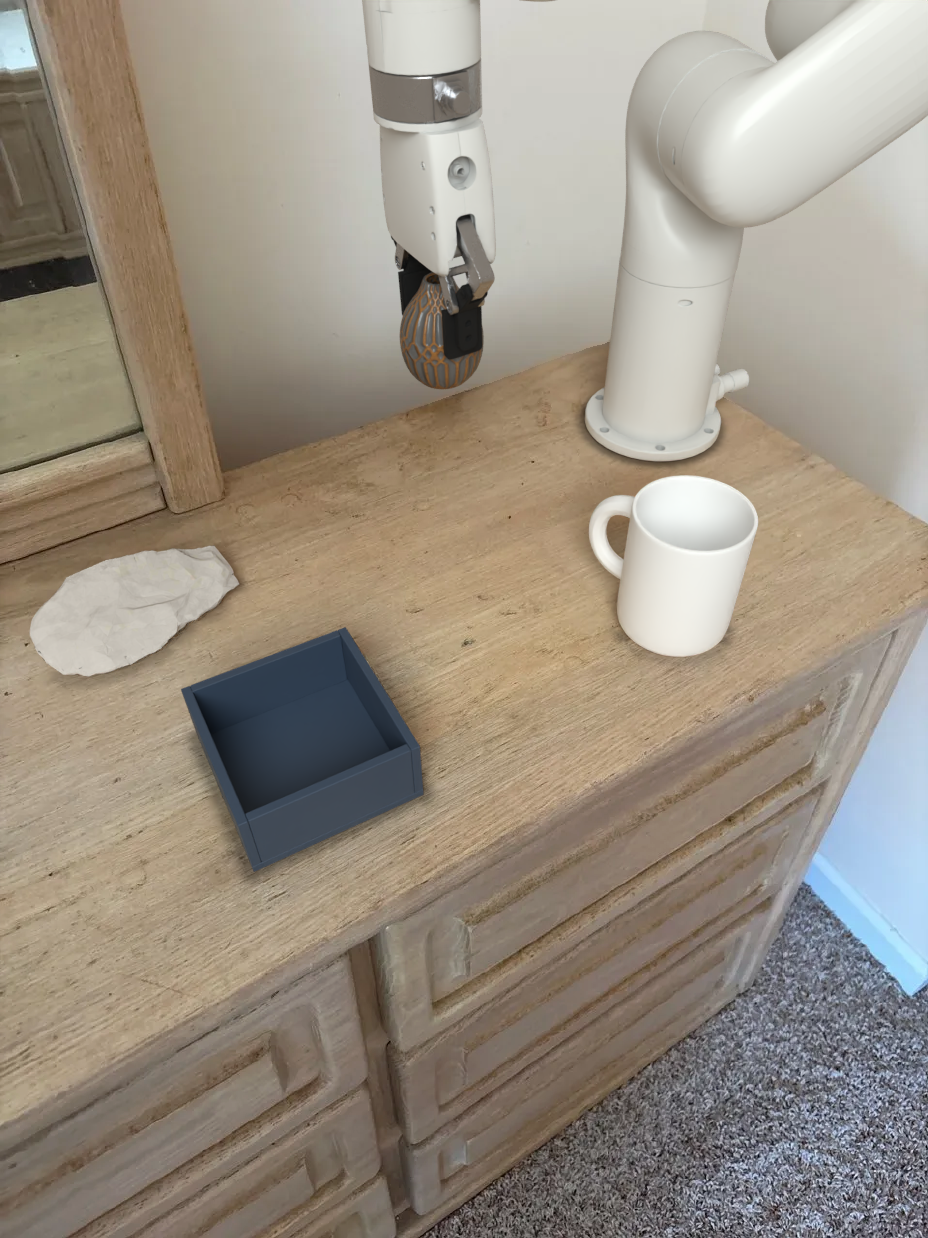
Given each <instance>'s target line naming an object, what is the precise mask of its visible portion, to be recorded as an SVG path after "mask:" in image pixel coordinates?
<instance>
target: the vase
mask: <svg viewBox="0 0 928 1238" xmlns="http://www.w3.org/2000/svg"><path fill="white" fill-rule="evenodd" d="M452 280H453V284H454V288H455V293H457V291H458V290H459V289H460V286H458V284H457V282H456V280H455V278H454V276H452ZM444 309H447V308H446V305H445V301H444V296H443V292H442V288H441V284H440V280H439V276H438V275H437V274H435V273H434V272H432V273H429V274H427V275H425V276H424V278H423V280H422V283H421V285H420V288H419V290H418V291H417V293H416V294H415V295H414V297H413V298H412V299H411V301H410V302H409V304H408V305H407V307H406V309H405V311H404V314H403V316H402V317H401V322H400V326H399V345H400V351H401V355H402V360H403V361H404V364H405V366H406V368H407V370H408V371H409V373H410V374H411V375H412V376H413V378H415V379H416V380H417V381H418V382H420V383H421V384H422V385H424V386H426V387H428V388H431V389H434V390H449V389H454V388H457V387H460V386H463V384H464V383H466V382H467V381H468V380H469V379H470V378H472V376H473V375H474V374H475V372H476V371H477V369H478V367H479V365H480V363H481V360H482V357H483V351H484V344H485V341H484V339H485V338H484V337H485V336H484V327H483V326H482V348H481V350H479V351H477V352H474V353H470V354H467V355H464V356H461V357H458V358H454V359H451V360H450V359H448V358H447V357H446V356H445V355H444V347H443V330H442V314H441V310H444Z"/></svg>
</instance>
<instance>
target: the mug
mask: <svg viewBox="0 0 928 1238" xmlns="http://www.w3.org/2000/svg"><path fill="white" fill-rule="evenodd" d="M614 516H622V517H626V518H628V519H629V523H628V529H627V535H626V536H627V537H626V541H625V547H624V555H623V558H622V557H621V556H619V555H618V554H617V553H616V552H615V551H614V549H613V548H612V546H611V545H610V543H609V540H608V535H607V527H608V523H609V521H610V519H611V518H612V517H614ZM758 527H759V517H758V513H757V510H756V508H755V506H754V504H753V503H752V501H751V499H749V498H748V497H747V496H746V495H745V494H744V493H742V492H741V491H740V490H738V489H737V488H735V487H733V486H731V485H729V484H727V483H725V482H722V481H720V480H717V479H713V478H710V477H706V476H700V475H690V474H685V475H684V474H683V475H670V476H666V477H665V476H664V477H662V478H657V479H656V480H653V481H651V482H648V483H647V484H646V485H645V486H643V487H642V488H641V489H640V490H638V492H637V493H636V495H635V496H634V495H628V494H616V495H611V496H608V497H606V498H605V499H603V500H601V501H600V502H599V503H598V504H597V505H596V506H595V508H594V510H593V511H592V512H591V515H590V518H589V522H588V538H589V544H590V547H591V549H592V552H593V554H594V556H595V558H596V559H597V561H598V562H599V563H600V565H601V566H602V567H603V568H604V569H605V570H606V571H607V572H609V573H610V574H611V575H612V576H613V577H615V578H617V579H618V580H619V586H618V592H617V599H616V613H617V614H616V615H617V620H618V622H619V625H620V627H621V628H622V630H623V632H624V633H625V635H626V636H627V637H628V638H629V639H630V640H631V641H633V642H634V643H635V644H636V645H638V646H640V647H641V648H643V649H645V650H647V651H649V652H652V653H654V654H657V655H660V656H666V657H671V658H672V657H673V658H685V657H686V658H687V657H693V656H698V655H700V654H704V653H706V652H708V651H710V650H711V649H713V648H715V647H716V646H717V645H718V644H719V643H720V642H721V641H722V640H723V638H724V637H725V635H726V633H727V632H728V630H729V627H730V624H731V621H732V617H733V615H734V610H735V607H736V604H737V601H738V597H739V593H740V590H741V586H742V582H743V579H744V576H745V572H746V570H747V569H746V568H747V565H748V562H749V558H750V554H751V551H752V549H753V545H754V541H755V537H756V534H757V531H758Z"/></svg>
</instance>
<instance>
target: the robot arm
mask: <svg viewBox="0 0 928 1238" xmlns="http://www.w3.org/2000/svg"><path fill="white" fill-rule="evenodd" d="M521 1H523V2H532V3H533V2H534V3H549V2H555V1H557V0H520V2H521ZM361 3H362V5H361V6H362V12H363V23H364V24H363V25H364V33H365V43H366V55H367V63H368V72H369V82H370V83H369V84H370V91H371V92H370V94H371V102H372V103H371V104H372V113H373V114H372V115H373V120H374V122H375V123H376V124H378V125H379V155H380V156H379V157H380V175H381V189H382V201H383V208H384V209H383V210H384V216H385V222H386V226H387V231H388V233H389V235H390V238H391V240H392V241H393V245H394V247H395V252H394V263H395V266H396V268H397V269H398V270H399V271H398V272H397V278H398V286H399V297H400V308H401V309H400V311H401V316H402V317H403V314H404V311H405V309H406V307H407V305H408V304H409V302H410V301H411V299H412V298H413V297H414V295H415V294H416V293H417V291H418V290H419V288H420V285H421V283H422V280H423V278H424V276H425V275H427V274H429V273H432V272H434V273H435V274H437V275H438V276H439V280H440V284H441V288H442V292H443V296H444V301H445V305H446V308H447V309H444V310H441V314H442V330H443V347H444V355H445V356H446V357H447V358H448V359H450V360H451V359H454V358H458V357H461V356H464V355H467V354H470V353H474V352H477V351H479V350H481V348H482V327H483V315H482V313H483V311H482V310H483V309H482V308H483V306H485V303H486V301H485V300H486V298H487V296H488V295H489V294H488V293H489V290H490V289H491V287H492V285H493V284H494V283H495V278H496V277H495V273H494V270H493V268H492V266H491V265H493V263H494V262H495V260H496V255H497V243H496V241H497V239H496V220H495V219H496V218H495V204H494V191H493V189H494V188H493V179H492V170H491V162H490V154H489V147H488V141H487V140H488V139H487V136H486V130H485V126H484V121H483V120H482V119H480V118H481V117H482V115H483V80H482V79H483V77H482V76H483V75H482V31H481V30H482V29H481V28H482V27H481V0H361ZM764 33H765V34H764V35H765V38H766V42H767V45H768V48H769V50H770V52H771V54H772V55H773V57H774V59H775V60H776V62H774V61H772V60H770V58H768V57H766V55H764V54H762V53H760V52H759V51H758V50H756V49H753V48H752V47H750V46H749V45H746V44H745V43H743V42H741V41H740V40H738V39H736V38H735V37H732V36H730V35H727V34H724V33H722V32H718V31H713V30H693V31H687V32H685V33H682V34H678V35H677V36H674V37H673V38H671V39H669V40H667V41H666V42H665V43H663V44H661V45H660V46H659V47H658V48H657V49H656V50H655V51H654V52H653V53H652V54H651V55H650V57H648V59H647V60H646V62H645V63H644V64H643V66H642V67H641V69H640V70H639V73H638V74H637V77H636V79H635V81H634V84H633V86H632V89H631V92H630V96H629V100H628V105H627V109H626V119H625V130H624V131H625V132H624V133H625V135H624V136H625V143H624V145H625V146H624V147H625V148H624V149H625V206H624V219H623V228H622V238H621V247H620V257H619V260H618V270H617V278H616V286H615V295H614V296H615V297H614V305H613V312H612V321H611V329H610V338H609V345H608V353H607V355H608V356H607V365H606V372H605V382H604V387H602V388H601V389H599V390H597V391H596V392H595V393H594V394H592V396H591V397H590V398H589V399H588V401H587V403H586V406H585V410H584V411H585V412H584V423H585V427H586V429H587V431H588V433H589V435H590V436H591V437H592V438H593V439H594V440H595V441H596V442H597V443H598V444H600V445H602V446H603V447H604V448H606V449H607V450H610V451H612V452H614V453H615V454H619V455H621V456H625V457H627V458H630V459H631V458H632V459H635V460H640V461H647V462H648V461H649V462H674V461H681V460H685V459H688V458H692V457H695V456H697V455H699V454H702V453H703V452H705V451H707V450H709V448H711V447H712V446H713V445H714V443H715V442H716V441H717V439H718V437H719V435H720V430H721V426H722V418H721V413H720V411H719V409H718V407H717V406H716V403H717V402H718V401H720V400H722V399H723V398H724V396H725V394H731V393H735V392H737V391H740V390H743V389H746V388H747V387H748V386H749V384H750V375H749V373H748V371H747V370H746V369H744V368H736V369H733V370H730V371H727V372H725V373H723V374H721V368H720V365H719V364H718V357H719V352H720V347H721V343H722V338H723V333H724V329H725V324H726V320H727V315H728V309H729V304H730V300H731V295H732V292H733V287H734V281H735V276H736V273H737V271H738V266H739V261H740V256H741V251H742V246H743V240H744V238H743V237H744V232H745V229H746V228H754V227H758V226H763V225H766V224H768V223H771V222H774V221H775V220H777V219H780V218H782V217H784V216H786V215H788V214H789V213H791V212H793V211H794V210H796V209H798V208H799V207H801V206H803V205H804V204H805V203H808V201H810V200H811V199H813V198H814V197H816V196H817V195H819V194H820V193H821V192H823V191H824V190H826V189H827V188H829V187H830V186H832V185H833V184H834V183H836V182H838V181H839V180H840V179H842V178H843V177H844V176H846V175H847V174H849V173H850V172H851V171H853V170H855V169H856V168H857V167H859V166H860V165H862V164H863V163H864V162H867V160H869V159H870V158H872V157H873V156H875V155H876V154H878V152H880V151H881V150H883V149H884V148H886V147H887V146H889V145H890V144H891V143H893V142H894V141H896V140H897V139H899V138H901V136H903V135H904V134H906V133H907V132H908V131H910V130H911V129H913V128H914V127H915V126H916V125H918V124H919V123H921V122H922V121H923V120H924V119H926V118H927V117H928V0H768V2H767V5H766V10H765V16H764ZM460 257H462V260H463V264H459V265H455V266H453V267H450V262H452V261H453V260H454V259H457V258H460ZM463 274H465V277H466V283H465V284H462V285H460V286H459V288H460V289H459V290H458V291H457V293H455V288H454V284H453V280H452V276H453V277H456V276H459V275H463ZM720 374H721V375H720Z"/></svg>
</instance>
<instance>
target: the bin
mask: <svg viewBox="0 0 928 1238" xmlns="http://www.w3.org/2000/svg"><path fill="white" fill-rule="evenodd" d="M180 692H181V695H182V697H183V700H184V702H185V706H186V708H187V711H188V714H189V716H190V719H191V722H192V725H193V728H194V729H195V733H196V736H197V738H198V741H199V743H200V746H201V748H202V751H203V753H204V755H205V758H206V761H207V763H208V765H209V768H210V770H211V772H212V775H213V777H214V779H215V782H216V785H217V788H218V789H219V792H220V794H221V798H223V801H224V804H225V807H226V809H227V811H228V813H229V816H230V818H231V821H232V823H233V825H234V828H235V830H236V833H237V835H238V837H239V840H240V843H241V845H242V848H243V849H244V852H245V854H246V857H247V859H248V862H249V865H250V866H251V869H252V871H253V873H254V872H257V871H260V870H261V869H264V868H266V867H269V866H271V865H273V864H275V863H277V862H279V861H281V860H283V859H286V858H288V857H291V856H293V855H295V854H296V853H299V852H301V851H303V850H306V849H309V848H310V847H312V846H314V845H316V844H319V843H321V842H323V841H325V840H328V839H330V838H332V837H333V836H334V837H335V836H336V835H338V834H340V833H343V832H346V831H347V830H349V829H351V828H354V827H357V826H359V825H360V824H362V823H364V822H367V821H370V820H371V819H373V818H376V817H378V816H381V815H383V814H384V813H387V812H389V811H392V810H393V809H395V808H397V807H401V806H402V805H404V804H406V803H409V802H410V801H413V800H416V799H418V798H419V797H422V796H424V793H425V792H424V783H423V782H424V781H423V770H422V769H423V768H422V767H423V766H422V755H421V745H420V743H419V742H418V741H417V739H416V737H415V736H414V734H413V733H412V731H411V730H410V728H409V726H408V725H407V722H406V721H405V719H404V718H403V716H402V715H401V713H400V711H399V710H398V709H397V707H396V705H395V704H394V702H393V700H392V698H390V696H389V694H388V693H387V691H386V689H385V687H384V686H383V685H382V683H381V681H380V680H379V678H378V676H377V675H376V673H375V671H374V669H373V668H372V667H371V665H370V664H369V662H368V660H367V659H366V657H365V656H364V654H363V652H362V651H361V649H360V648H359V646H358V644H357V643H356V641H355V640H354V638H353V637H352V635H351V633H350V632H349V630H348V629H347V627H341V628H339V629H337V630H333V631H331V632H328V633H325V634H322V635H320V636H318V637H315V638H312V639H309V640H307V641H305V642H302V643H299V644H297V645H293V646H291V647H289V648H286V649H282V650H280V651H278V652H275V653H272V654H270V655H267V656H264V657H262V658H259V659H256V660H254V661H251V662H248V663H246V664H243V665H240V666H237V667H235V668H233V669H232V668H231V669H230V670H227V671H225V672H223V673H219V674H216V675H214V676H211V677H209V678H206V679H204V680H200V681H198V682H196V683H193V684H190V685H188V686H185V687H182V688H181V689H180Z"/></svg>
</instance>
